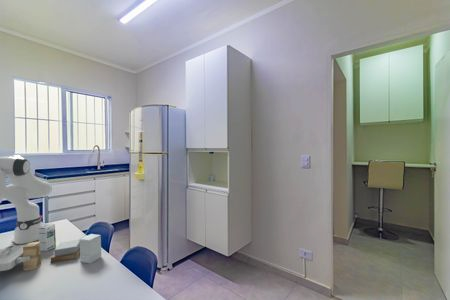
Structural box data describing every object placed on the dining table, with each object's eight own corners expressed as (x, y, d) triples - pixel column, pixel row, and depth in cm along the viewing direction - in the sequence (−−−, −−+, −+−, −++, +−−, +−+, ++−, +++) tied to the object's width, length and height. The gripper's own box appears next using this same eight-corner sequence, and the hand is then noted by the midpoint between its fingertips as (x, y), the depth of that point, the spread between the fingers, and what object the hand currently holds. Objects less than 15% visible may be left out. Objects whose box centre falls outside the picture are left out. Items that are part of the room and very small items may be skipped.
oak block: (29, 265, 112) (28, 242, 112) (41, 263, 114) (40, 241, 113) (23, 270, 107) (22, 247, 107) (35, 268, 109) (34, 245, 109)
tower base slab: (60, 253, 126) (60, 247, 126) (83, 250, 129) (83, 244, 129) (50, 264, 114) (50, 257, 114) (76, 260, 118) (76, 253, 118)
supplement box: (101, 257, 120) (101, 234, 119) (90, 264, 112) (89, 240, 112) (91, 255, 122) (91, 233, 122) (79, 262, 115) (78, 238, 114)
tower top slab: (60, 248, 125) (60, 242, 125) (81, 245, 128) (80, 239, 128) (54, 256, 115) (54, 250, 115) (76, 252, 119) (76, 246, 119)
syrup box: (46, 251, 127) (46, 227, 127) (38, 250, 128) (38, 226, 128) (56, 246, 133) (55, 223, 133) (48, 246, 134) (47, 223, 134)
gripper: (-16, 263, 97) (21, 258, 101) (14, 243, 116) (44, 240, 120) (-16, 277, 97) (21, 271, 101) (14, 255, 116) (44, 251, 120)
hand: (34, 254), depth 111 cm, fingers open, 5 cm apart
